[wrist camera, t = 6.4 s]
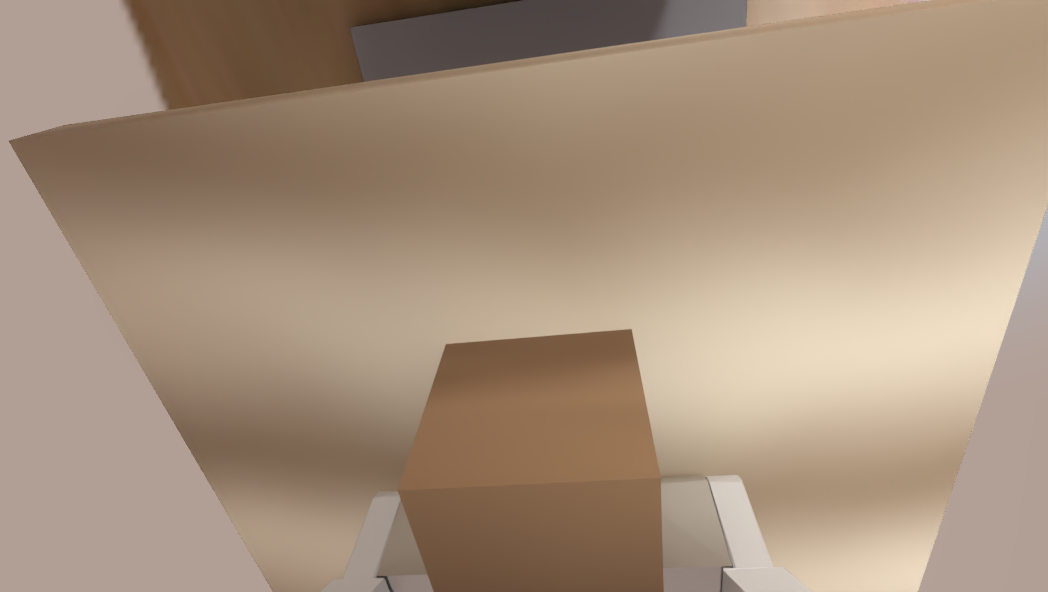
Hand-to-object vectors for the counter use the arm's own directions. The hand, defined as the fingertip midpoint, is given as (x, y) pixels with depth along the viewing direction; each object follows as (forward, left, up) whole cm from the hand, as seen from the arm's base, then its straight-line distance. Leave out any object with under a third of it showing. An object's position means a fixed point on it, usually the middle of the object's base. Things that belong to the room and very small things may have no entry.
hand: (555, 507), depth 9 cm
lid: (0, 0, -2) cm, 2 cm away
